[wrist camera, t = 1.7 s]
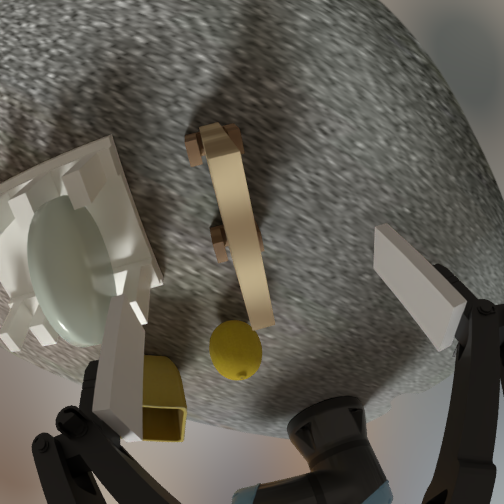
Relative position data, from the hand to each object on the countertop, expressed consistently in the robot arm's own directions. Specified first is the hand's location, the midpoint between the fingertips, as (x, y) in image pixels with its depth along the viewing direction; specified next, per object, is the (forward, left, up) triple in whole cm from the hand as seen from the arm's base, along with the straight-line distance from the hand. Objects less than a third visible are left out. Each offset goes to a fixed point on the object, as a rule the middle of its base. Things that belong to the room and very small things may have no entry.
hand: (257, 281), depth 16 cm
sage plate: (0, +12, -12) cm, 17 cm away
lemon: (-16, +3, -15) cm, 22 cm away
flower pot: (-20, +15, -15) cm, 29 cm away
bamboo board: (0, 0, -14) cm, 14 cm away
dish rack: (0, +17, -15) cm, 22 cm away
